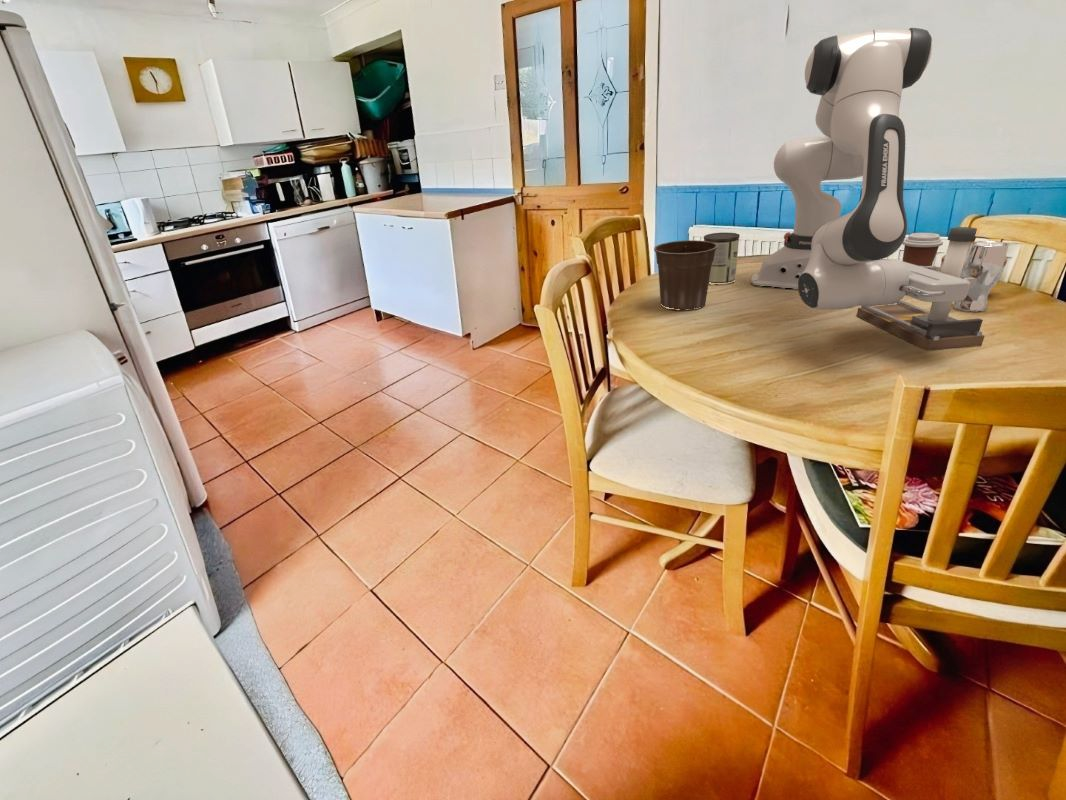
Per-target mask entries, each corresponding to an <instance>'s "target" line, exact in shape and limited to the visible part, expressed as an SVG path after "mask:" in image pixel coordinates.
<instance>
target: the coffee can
mask: <svg viewBox="0 0 1066 800" xmlns="http://www.w3.org/2000/svg"><path fill="white" fill-rule="evenodd" d="M703 241H708V242H713V243H716V244H717V245H718V247H717V249H716V250H715V255H714V261H713V262H712V265H711V271H710V278H709V282H711V283H728V282H732V281H734V280H735V281H736V273H737V263H738V252H739V241H740V234H738V233H735V232H712V233H708V234H705V235H704V236H703Z"/></svg>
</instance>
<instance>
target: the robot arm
mask: <svg viewBox="0 0 1066 800" xmlns="http://www.w3.org/2000/svg"><path fill="white" fill-rule="evenodd" d="M932 39H933V38H932V36H931V34H930V32H929V30H927V29H923V28H917V27H909V28H908V29H902V28H901V29H899V28H889V29H887V28H884V29H881V28H880V29H873V30H870V31H862V32H855V33H851V34H845V35H841V36H838V35H833V36H829V37H827V38H823V39H820V40H819V41H818V42H817V44H816V45H814V46H813V50H812V51H811V53H810V54H809V56H808V59H807V61H806V64H805V67H804V81H805V85H806V86H805V87H806V89H807V90H808V92H809V94H813V95H817V96H820V98H819V99H820V100H819V102H818V106H817V110H816V114H815V124H816V127H817V128H818V129H819V131H820V132H821V133H822V134H823V136H822V135H821V136H812V137H811V136H809V137H802V138H797V139H793V140H790V141H788V142H785V143H783V144H782V145H781V146H780V147H779V149H778V150H777V152H776V154H775V157H774V160H773V170H774V171H773V172H775V175H776V177H777V178H778V179H779V181H781V182H782V183H784V185H786V187H787V188H788V189H789V190H790V191H791V194H792V195H793V199H794V204H795V217H794V224H793V225H794V226H793V232H789V231H788V232H785V234H784V235H783V239H784V242H783V247H781V248H779V249H778V250H776V251H775V252H774V253H772V254H770V255H769V256H767V257H766V258H765V259H764V260H763V262H762V263H761V266H760V269H759V272H757V273H755V274H753V275H752V276H751V278H750V283H751V282H752V283H753V284H755V285H763V286H773V287H772V288H774V287H783V288H782V289H785V288H793V289H792V290H797V289H798V290H797V291H798V294H799V296H800V299H801V301H802V302H803V303H804V304H805V305H806V306H807V307H810V308H811V309H813V310H821V311H822V310H825V311H826V310H831V311H832V310H846V309H852V308H855V307H857V306H872V307H873V306H884V305H894V304H897V303H898V302H899V301H903V298H904V297H905V296H908V297H910V298H913V299H915V300H918V301H921V302H925V303H926V302H928V303H932V302H950V301H953V302H955V301H961V300H964V299H965V298H966V296H967V293H968V291H969V288H971V287H974V286H975V284H976V281H977V279H976V278H973V277H962V279H961V278H958V277H955V276H951V275H948V274H944V273H941V272H939V270H940V267H937V266H934V265H932V266H926V267H925V266H917V265H914V264H910V263H907V262H903V261H902V260H900V259H897V258H896V259H894V258H893V259H891V258H890V259H888V258H887V257H890V256H892V255H893V254H895V253H896V252H897V251H898V250H899V248H900V247H901V246H902V245H903V244H902V243H903V241H904V240H906V236H907V233H908V218H907V213H906V209H905V205H904V204H905V201H904V186H905V185H904V184H905V183H904V181H905V178H904V177H905V162H906V129H905V125H904V122H903V121H902V119H901V118H900V104H901V101H902V100H901V99H902V92H903V90H904V89H908V88H910V87H913V85H915V84H916V82H918V81H919V80H920V79H921V77H922V75H923V73H924V72H925V70H926V69H927V66H929V65H928V64H929V62H930V60H931V56H932V49H933V47H932V46H933V45H932V43H933V42H932V41H933V40H932ZM856 178H862V182H861V183H862V184H861V185H862V187H861V196H860V200H859V202H858V204H857V205H856V206H855V208H854V209H853V210H852V211H851V212H850V211H849V212H848V213H846V214H844V215H841V212H842V204H841V202H840V200H839V199H838V198H837V197H835V196H834V195H832V194H830V193H827V192H825V191H823V190H822V189H821V183H822V182H824V181H839V180H841V181H842V180H851V179H856ZM886 258H887V259H886ZM753 284H752V285H753Z"/></svg>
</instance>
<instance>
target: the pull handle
mask: <svg viewBox="0 0 1066 800" xmlns="http://www.w3.org/2000/svg"><path fill="white" fill-rule="evenodd" d="M977 231H978V228H976V227H969V226H968V227H967V226H957V227H951V228H950V230H949V233H948V236H947V239H946V240H948V241H949V243H948V246H947V249H946V253H945V254H944V255H945V259H944V263H943V266H942V270H941V273H944V274H948V275H951V276H955V277H958V278H960V275H961V272H962V269H963V265H964V262H965V259H966V255H967V252H968V249H969V247H970V244H971V243H972V242H974V241H975V239H976V234H977ZM953 302H954V301H950V302H931V306H930V309H929V311H930V312H929V315H918V316H913V317H912V320H911V324H913V325H915V326H917V327H919V328H922V329H924V330H926V331H927V328H928V325H929V323H936V322H946V321H957V320H958V319H957V318H954V317H951V316H949V314H950V311H951V309H952V306H953Z"/></svg>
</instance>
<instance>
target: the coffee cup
mask: <svg viewBox="0 0 1066 800" xmlns="http://www.w3.org/2000/svg"><path fill="white" fill-rule="evenodd" d="M940 237H941V236H940V234H939V233H933V232H913V233H910V234H909V235H908V237H906V238H905V239H904V241H903V243H902V245H903V246H904V247H903V252H902V253H903V255H902V260H901V261H903V262H907V263H910V264H914V265H917V266H925V267H926V266H933V263H934V261H935V258H936V255H937V254H938V250H939V248H940V247H941V246H943V244H944V241H943V240H942V239H941V238H940Z"/></svg>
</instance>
